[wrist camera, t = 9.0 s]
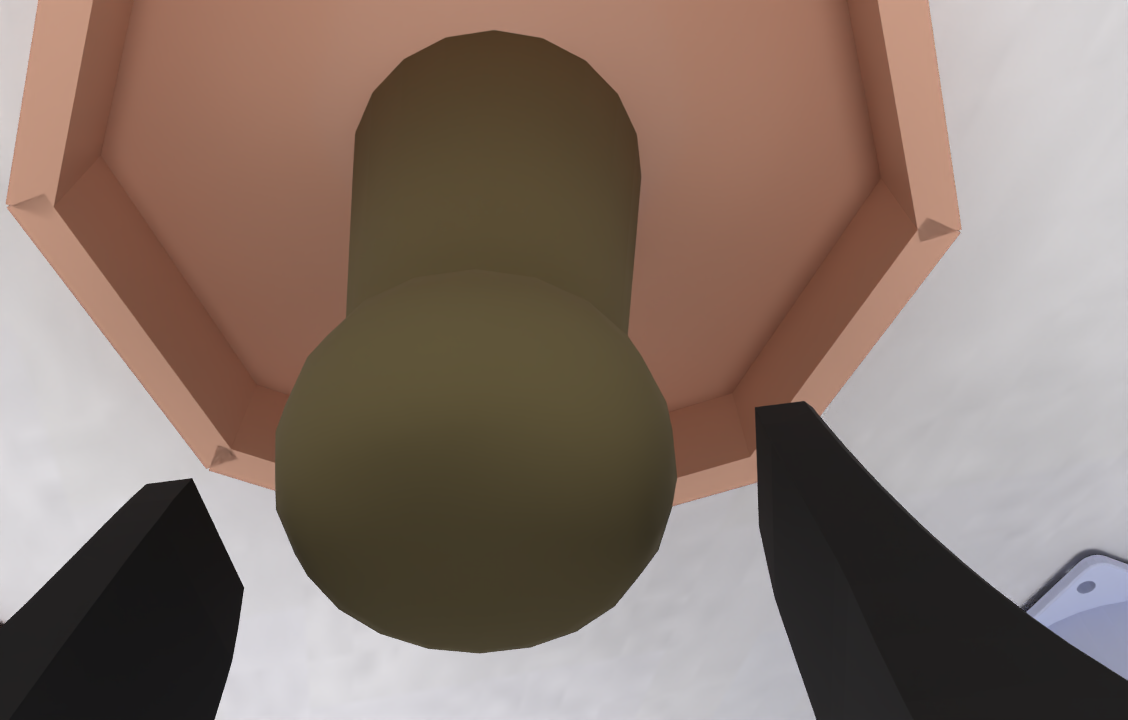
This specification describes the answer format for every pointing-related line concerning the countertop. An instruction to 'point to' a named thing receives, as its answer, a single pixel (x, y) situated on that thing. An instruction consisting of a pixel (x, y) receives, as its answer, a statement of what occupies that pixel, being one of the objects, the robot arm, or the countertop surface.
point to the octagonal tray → (325, 171)
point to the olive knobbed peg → (482, 361)
